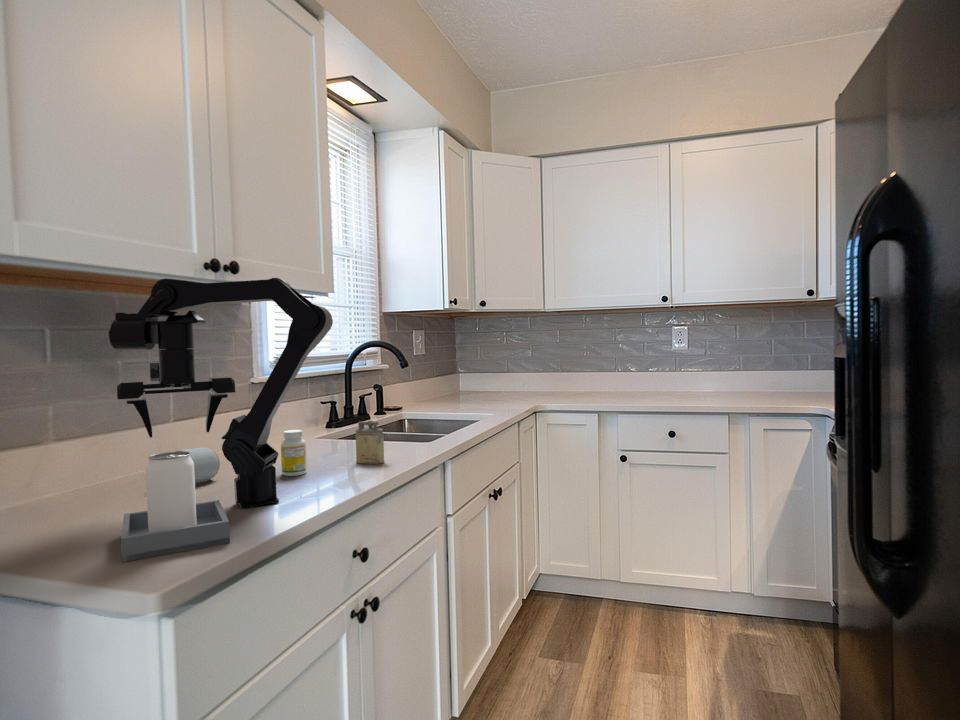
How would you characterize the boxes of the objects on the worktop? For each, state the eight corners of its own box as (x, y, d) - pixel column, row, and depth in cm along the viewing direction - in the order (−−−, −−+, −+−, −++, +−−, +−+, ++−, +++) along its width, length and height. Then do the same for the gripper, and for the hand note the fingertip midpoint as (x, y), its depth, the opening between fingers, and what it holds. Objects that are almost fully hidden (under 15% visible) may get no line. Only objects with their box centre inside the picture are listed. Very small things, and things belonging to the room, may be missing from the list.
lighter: (386, 461, 141) (385, 420, 140) (380, 464, 137) (378, 422, 137) (360, 460, 143) (359, 420, 142) (352, 463, 139) (351, 422, 139)
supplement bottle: (301, 476, 127) (300, 432, 127) (277, 476, 128) (276, 433, 127) (310, 470, 133) (308, 429, 132) (287, 470, 133) (285, 429, 133)
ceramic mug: (223, 479, 126) (221, 444, 126) (192, 489, 118) (190, 451, 118) (186, 477, 130) (184, 443, 130) (154, 486, 122) (152, 450, 122)
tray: (219, 518, 98) (218, 500, 97) (230, 542, 86) (229, 521, 86) (124, 534, 91) (123, 513, 91) (122, 562, 79) (120, 539, 79)
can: (206, 527, 90) (203, 451, 90) (175, 542, 84) (171, 460, 84) (171, 525, 92) (167, 450, 91) (138, 539, 86) (134, 458, 85)
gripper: (226, 347, 117) (229, 424, 118) (117, 350, 108) (121, 434, 108) (234, 347, 107) (237, 431, 108) (115, 350, 98) (119, 442, 99)
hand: (179, 434), depth 106 cm, fingers open, 9 cm apart
